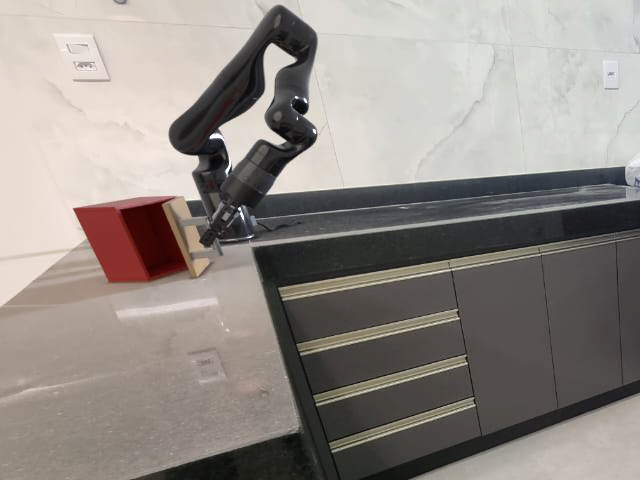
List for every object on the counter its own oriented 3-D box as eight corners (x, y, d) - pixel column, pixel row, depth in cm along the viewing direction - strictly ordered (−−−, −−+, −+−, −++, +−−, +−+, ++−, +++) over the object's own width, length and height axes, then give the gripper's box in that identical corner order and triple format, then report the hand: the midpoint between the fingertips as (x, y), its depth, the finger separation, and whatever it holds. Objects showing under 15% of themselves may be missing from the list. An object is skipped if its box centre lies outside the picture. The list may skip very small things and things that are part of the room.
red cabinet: (205, 263, 133) (177, 195, 126) (148, 281, 119) (114, 206, 112) (169, 264, 134) (139, 196, 127) (109, 282, 120) (72, 208, 113)
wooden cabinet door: (237, 258, 136) (212, 193, 129) (228, 272, 123) (200, 200, 116) (205, 263, 133) (178, 196, 126) (192, 277, 120) (161, 204, 113)
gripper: (267, 196, 119) (221, 259, 118) (266, 191, 130) (223, 248, 129) (230, 174, 114) (181, 238, 113) (232, 170, 125) (187, 229, 124)
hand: (204, 243), depth 121 cm, fingers closed on wooden cabinet door
